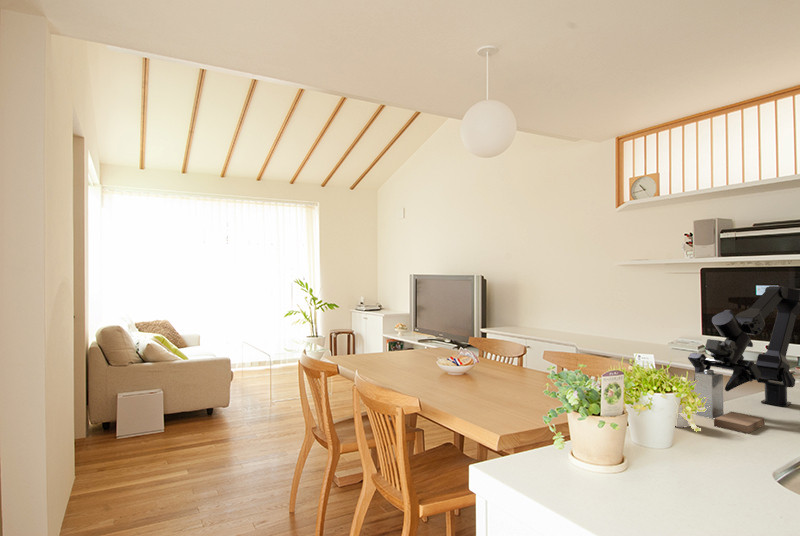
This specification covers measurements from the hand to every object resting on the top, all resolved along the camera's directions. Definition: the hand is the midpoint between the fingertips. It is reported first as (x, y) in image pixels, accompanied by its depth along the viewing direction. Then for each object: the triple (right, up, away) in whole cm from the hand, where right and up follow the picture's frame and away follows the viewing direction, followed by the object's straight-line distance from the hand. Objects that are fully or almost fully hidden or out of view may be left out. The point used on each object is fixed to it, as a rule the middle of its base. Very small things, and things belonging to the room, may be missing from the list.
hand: (710, 387), depth 144 cm
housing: (0, -8, 0) cm, 8 cm away
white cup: (-14, -9, -8) cm, 19 cm away
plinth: (+2, -8, -10) cm, 13 cm away
